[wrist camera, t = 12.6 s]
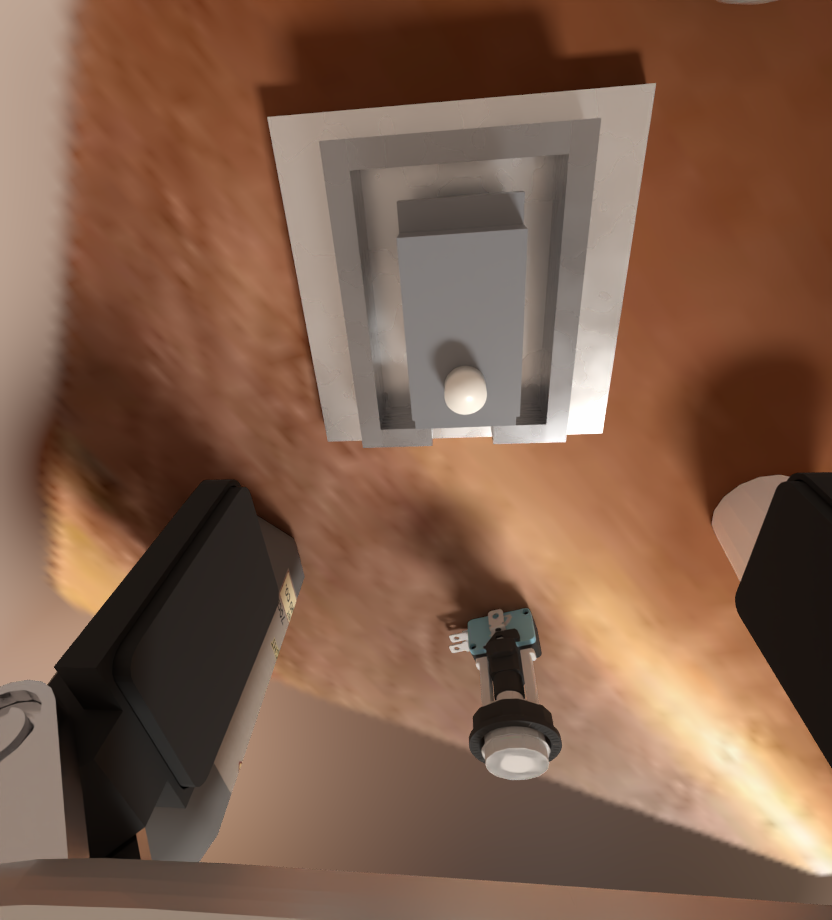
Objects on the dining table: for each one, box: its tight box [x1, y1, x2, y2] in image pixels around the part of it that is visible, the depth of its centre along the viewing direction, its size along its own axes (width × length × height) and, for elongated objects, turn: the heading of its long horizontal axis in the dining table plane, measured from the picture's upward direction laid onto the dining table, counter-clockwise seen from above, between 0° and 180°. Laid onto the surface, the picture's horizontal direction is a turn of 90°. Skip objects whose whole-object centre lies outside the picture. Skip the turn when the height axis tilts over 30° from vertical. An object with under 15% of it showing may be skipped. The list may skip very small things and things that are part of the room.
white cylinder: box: [712, 475, 789, 581], centre depth 27 cm, size 7×7×7 cm
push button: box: [449, 608, 562, 780], centre depth 32 cm, size 7×5×10 cm
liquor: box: [47, 505, 305, 862], centre depth 21 cm, size 9×9×30 cm
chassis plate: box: [267, 83, 656, 448], centre depth 22 cm, size 15×15×4 cm
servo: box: [396, 191, 528, 429], centre depth 20 cm, size 4×9×6 cm, turn 4°
